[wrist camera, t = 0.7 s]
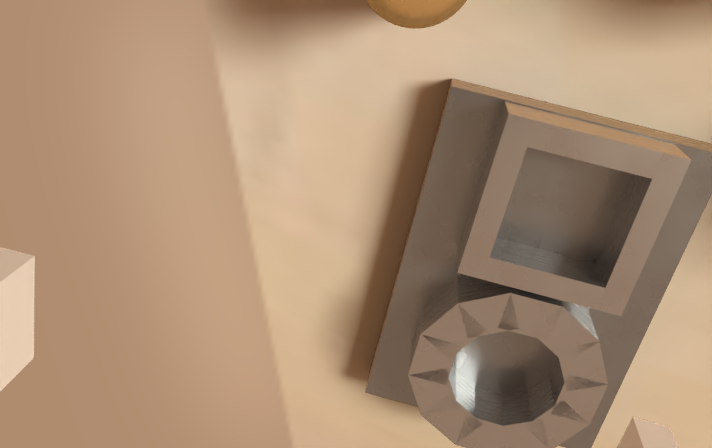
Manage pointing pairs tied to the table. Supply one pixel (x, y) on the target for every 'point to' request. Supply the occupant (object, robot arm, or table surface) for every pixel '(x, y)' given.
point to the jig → (534, 267)
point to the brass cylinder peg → (416, 11)
